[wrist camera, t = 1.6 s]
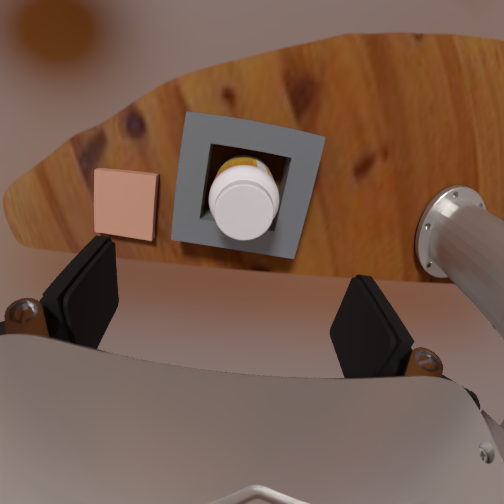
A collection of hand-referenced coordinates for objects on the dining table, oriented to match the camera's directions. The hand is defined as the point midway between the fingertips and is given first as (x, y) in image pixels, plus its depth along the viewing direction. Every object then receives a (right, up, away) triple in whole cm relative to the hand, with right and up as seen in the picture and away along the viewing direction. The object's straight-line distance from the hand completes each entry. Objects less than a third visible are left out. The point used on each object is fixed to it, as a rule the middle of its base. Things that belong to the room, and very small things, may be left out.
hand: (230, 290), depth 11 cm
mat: (-13, +7, +17) cm, 22 cm away
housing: (0, +8, +17) cm, 19 cm away
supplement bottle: (0, +8, +17) cm, 19 cm away
